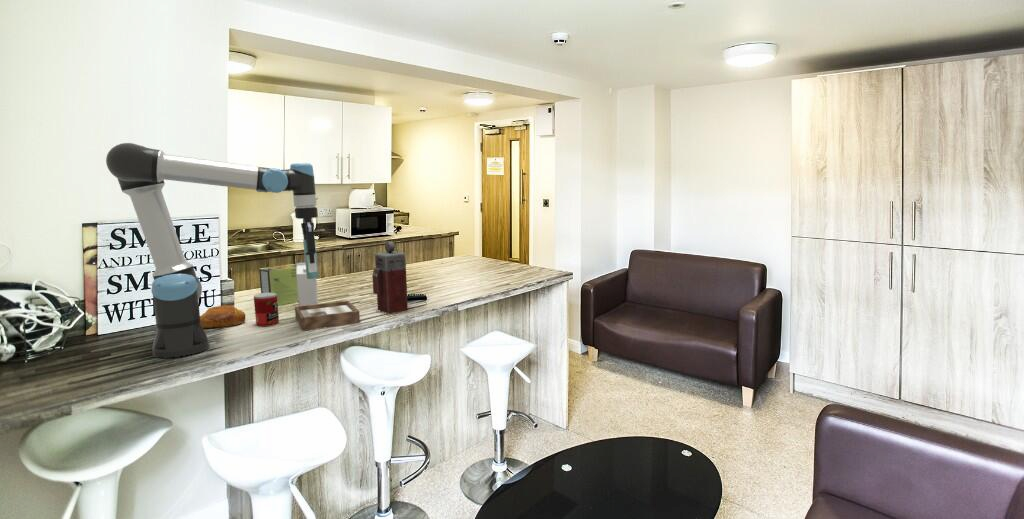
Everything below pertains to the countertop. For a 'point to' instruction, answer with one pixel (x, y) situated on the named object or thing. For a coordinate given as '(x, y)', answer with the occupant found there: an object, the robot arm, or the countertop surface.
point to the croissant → (222, 316)
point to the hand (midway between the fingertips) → (312, 270)
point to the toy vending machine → (390, 280)
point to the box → (326, 315)
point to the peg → (312, 274)
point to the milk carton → (306, 287)
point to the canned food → (266, 309)
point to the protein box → (280, 282)
